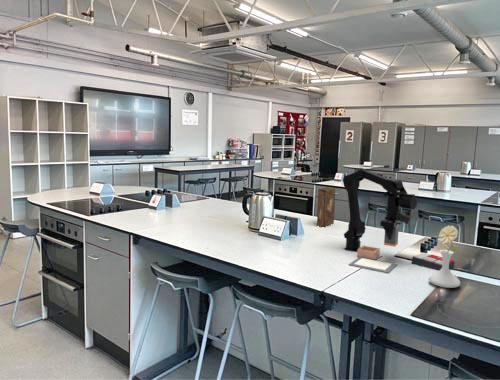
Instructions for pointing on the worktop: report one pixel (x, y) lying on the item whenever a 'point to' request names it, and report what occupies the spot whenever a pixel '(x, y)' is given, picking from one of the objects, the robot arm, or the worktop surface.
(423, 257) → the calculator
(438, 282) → the flower in vase
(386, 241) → the grey square block
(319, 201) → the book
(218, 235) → the worktop surface
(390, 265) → the writing mat
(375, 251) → the copper square tube
